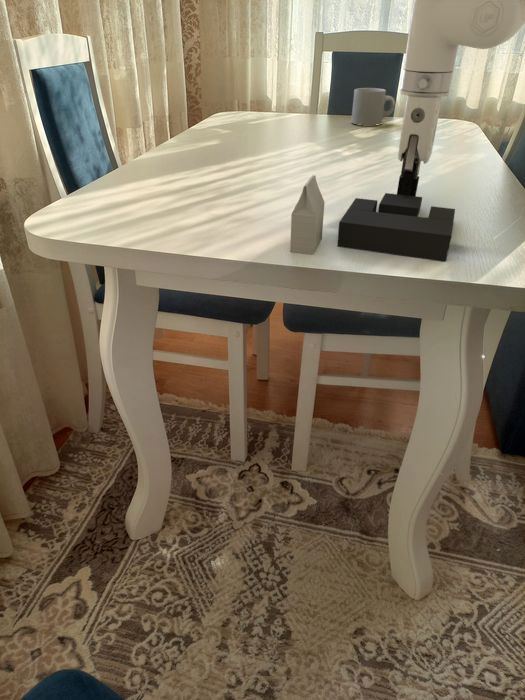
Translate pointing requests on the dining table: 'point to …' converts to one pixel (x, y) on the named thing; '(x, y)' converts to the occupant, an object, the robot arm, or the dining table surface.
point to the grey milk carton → (307, 219)
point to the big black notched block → (396, 231)
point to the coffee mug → (370, 106)
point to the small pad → (400, 204)
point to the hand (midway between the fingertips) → (405, 199)
